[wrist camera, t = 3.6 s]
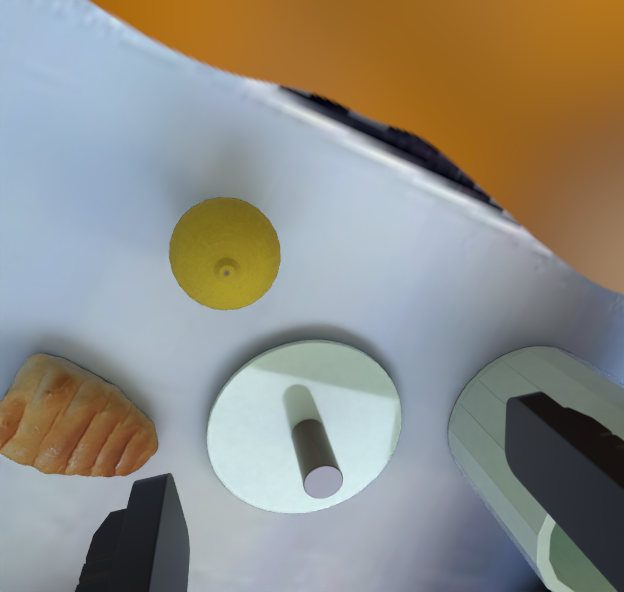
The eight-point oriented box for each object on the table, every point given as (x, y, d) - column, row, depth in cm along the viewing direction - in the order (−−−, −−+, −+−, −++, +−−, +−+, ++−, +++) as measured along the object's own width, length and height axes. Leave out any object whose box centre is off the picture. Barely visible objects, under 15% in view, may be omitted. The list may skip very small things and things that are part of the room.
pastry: (180, 402, 29) (174, 437, 26) (131, 479, 31) (119, 524, 27) (34, 338, 26) (4, 369, 23) (-14, 428, 27) (-49, 470, 24)
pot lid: (227, 522, 33) (229, 597, 28) (187, 358, 29) (179, 409, 23) (402, 478, 35) (436, 539, 30) (389, 318, 30) (427, 355, 25)
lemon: (205, 172, 25) (200, 182, 18) (288, 222, 27) (314, 251, 20) (159, 254, 26) (135, 297, 19) (242, 298, 28) (250, 353, 21)
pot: (449, 501, 37) (533, 629, 27) (445, 363, 32) (542, 457, 23) (586, 465, 39) (711, 573, 29) (599, 330, 34) (751, 403, 24)
